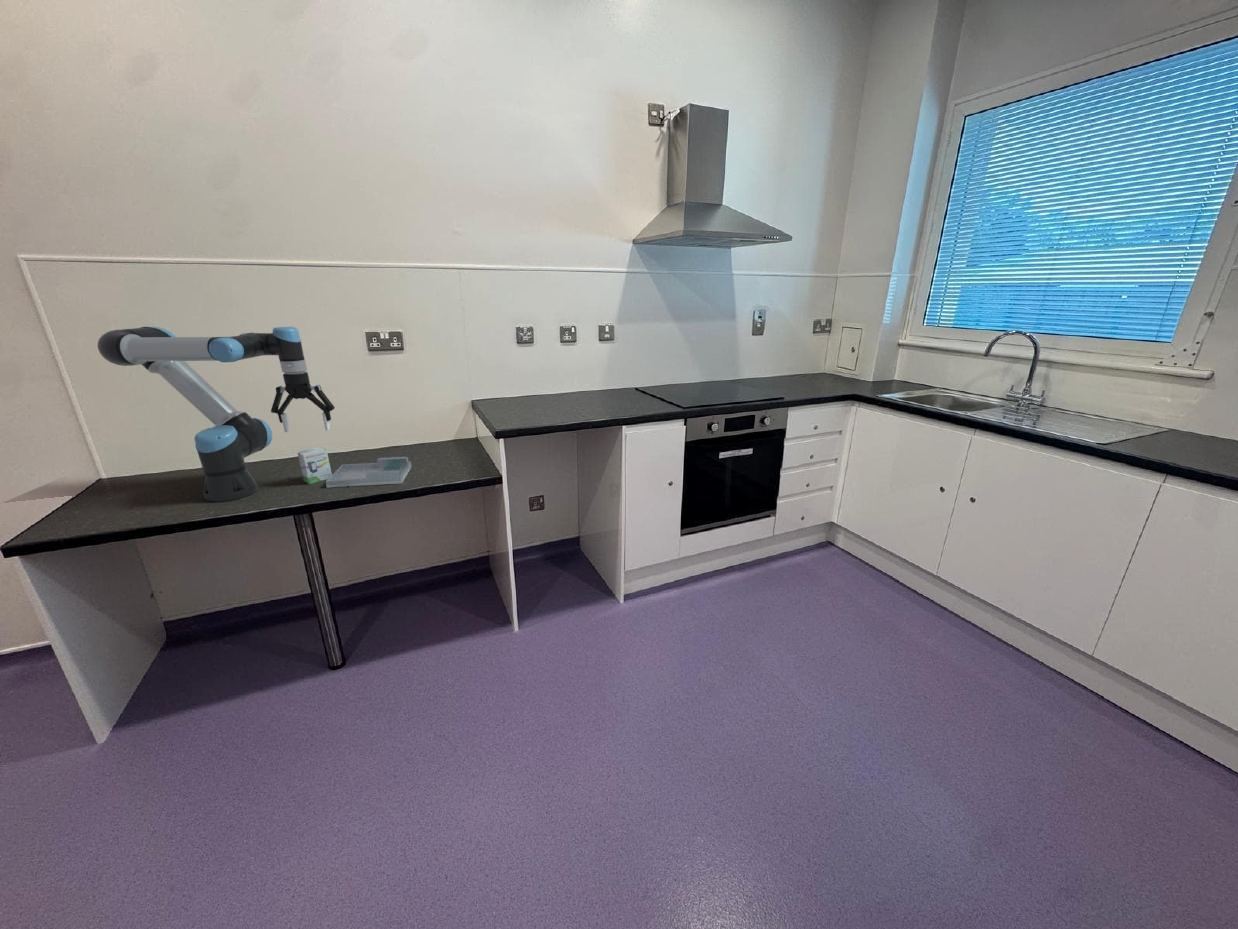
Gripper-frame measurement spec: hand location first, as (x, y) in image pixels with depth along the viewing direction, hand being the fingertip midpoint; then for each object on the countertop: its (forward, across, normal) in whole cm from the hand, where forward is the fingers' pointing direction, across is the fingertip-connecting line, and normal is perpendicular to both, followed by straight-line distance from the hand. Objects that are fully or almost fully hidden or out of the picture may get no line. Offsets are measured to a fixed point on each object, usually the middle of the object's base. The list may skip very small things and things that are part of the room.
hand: (307, 430), depth 181 cm
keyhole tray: (+20, +19, 0) cm, 27 cm away
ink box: (+20, 0, 0) cm, 20 cm away
